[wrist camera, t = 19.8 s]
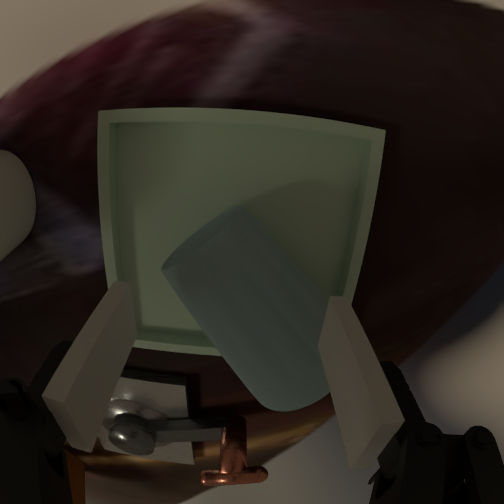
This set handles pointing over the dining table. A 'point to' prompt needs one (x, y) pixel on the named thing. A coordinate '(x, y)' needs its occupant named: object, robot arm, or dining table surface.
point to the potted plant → (76, 478)
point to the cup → (253, 308)
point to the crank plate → (151, 410)
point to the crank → (190, 430)
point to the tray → (229, 199)
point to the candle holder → (15, 203)
